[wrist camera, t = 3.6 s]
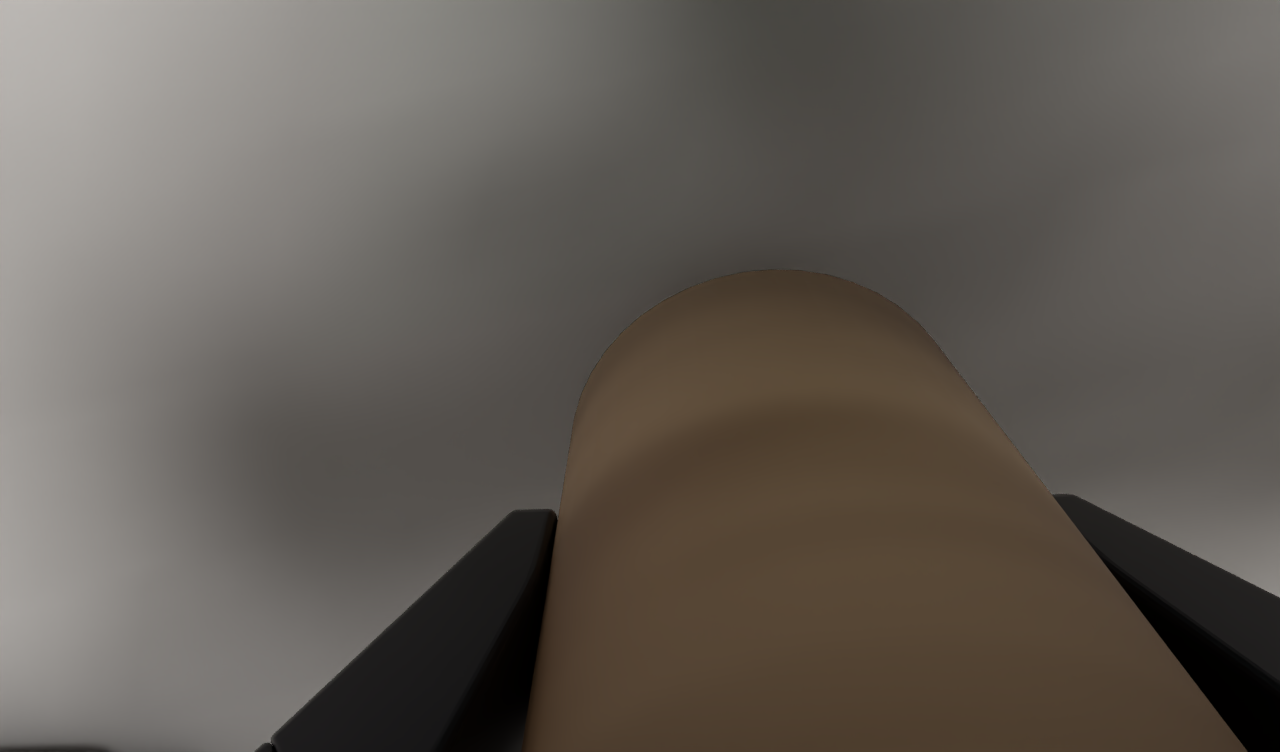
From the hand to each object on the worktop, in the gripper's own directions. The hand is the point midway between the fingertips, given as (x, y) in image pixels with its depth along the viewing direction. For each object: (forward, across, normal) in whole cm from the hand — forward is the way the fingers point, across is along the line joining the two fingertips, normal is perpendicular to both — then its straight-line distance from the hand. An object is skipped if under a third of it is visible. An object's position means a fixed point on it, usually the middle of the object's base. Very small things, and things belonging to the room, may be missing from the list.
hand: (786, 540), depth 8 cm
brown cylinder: (+2, 0, 0) cm, 2 cm away
